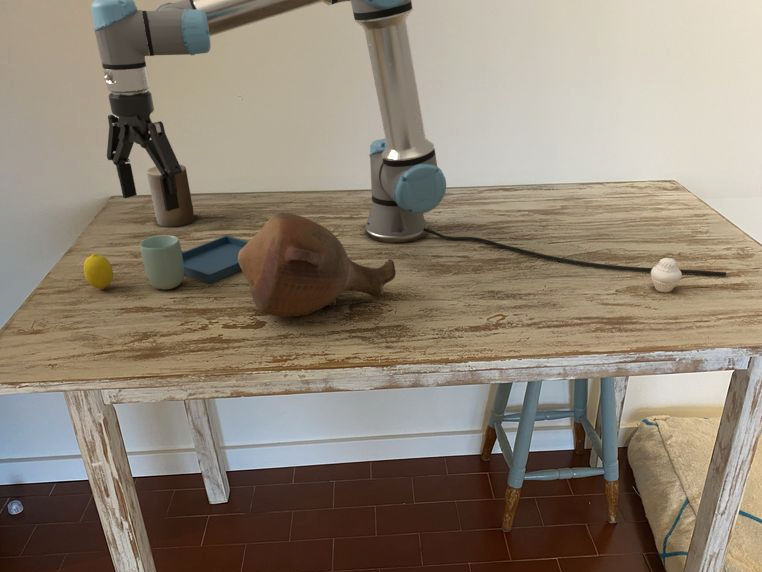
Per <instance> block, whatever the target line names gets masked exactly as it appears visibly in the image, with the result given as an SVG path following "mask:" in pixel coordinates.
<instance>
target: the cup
mask: <svg viewBox="0 0 762 572" xmlns="http://www.w3.org/2000/svg"><path fill="white" fill-rule="evenodd" d="M139 250H140V255H141V260H142V264H143V269H144V272H145V275H146V277H147V280H148V282H149V284H150V285H151V286H153V287H154V288H155V289H158V290H173V289H175V288H177V287H179V286H180V285H181V284H182V283H183V280H184V279H185V278H184V277H185V274H184V263H183V256H182V252H183V251H182V245H181V242H180V239H179V237H177V236H175V235H169V234H159V235H153V236H148V237H145V238H144V239H143V240H141V241H140V243H139Z"/></svg>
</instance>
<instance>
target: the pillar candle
mask: <svg viewBox="0 0 762 572" xmlns="http://www.w3.org/2000/svg"><path fill="white" fill-rule="evenodd" d="M179 165H180V167H181V169H182V173H180V174H177V175H175V180H176V186H177V197H178V203H179V208H177V209H173V210H170V211H165V205H164V200H163V194H162V189H161V183H160V178H159V177H160V176H161V173H160V172H159V170H158V168H157V167H156V165H155V166H152V167H150V168H148V169H147V170H146V175H147V180H148V185H149V191H150V195H151V201H152V205H153V209H154V215H155V219H156V224H158V225H159V226H161V227H168V228H169V227H170V228H171V227H172V228H173V227H181V226H186V225H188V224H192V223H193V222H194V221H195V220H196V217H195V213H194V206H193V201H192V195H191V189H190V184H189V177H188V172H187V168H186V166H185V165H183V164H179ZM165 170H166V169H165Z"/></svg>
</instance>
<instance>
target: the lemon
mask: <svg viewBox="0 0 762 572" xmlns="http://www.w3.org/2000/svg"><path fill="white" fill-rule="evenodd" d="M83 275H84V279H85V280H86V282H87V283H88V285H90V286H92V287H93V288H98V289H100V290H105V288H106V287H108V286H109V285H110V284H111V283H112V281H113V279H114V270H113V266H112V263H111V261H109V259H108V258H107V257H105V256H103V255H102V254H97V253H92V254H91V255H89V256H87V258H86V259H85V260H84V262H83Z"/></svg>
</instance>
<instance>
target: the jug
mask: <svg viewBox="0 0 762 572" xmlns="http://www.w3.org/2000/svg"><path fill="white" fill-rule="evenodd" d="M238 262H239V265H240V267H241V269H242V270H241V272H242V274H243V276H244V277H245V280H246V282H247V286H248V288H249V292H250V295H251V298H252V300H253V303H254V305H255V307H256V309H258V310H259V311H260V312H262V313H264V314H266V315H271V316H275V317H283V318H284V317H286V318H288V317H290V318H291V317H301V316H305V315H309V314H312V313H315V312H316V311H317V312H318V310H321V309H323V308H324V307H326V306H331V307H334V306H335V305H336V304H337V302H336V300H337V297H338V296H339V295H341V294H342V293H344V292H358V293H363V294H367V295H369V296H372V297H373V298H375V297H380V295H382V294H383V293H384V286H385V285H386V284H388V283H390V282H392V281H393V280H394V279H395V278H396V266H395V261H394V260H393V259H391V258H389V259H388V260H387V261H385V262H384V263H383V265H381V266H379V267H370V266H366V265H365V266H364V265H361V264H358V263H356V262H354V261H352V260H351V259H350V258H349V256H348V253H347V250H346V249H345V247H344V245H343V244H342V242H341V241H340V239H339V238H338V237H337V236H336V235H335V234H334V233H332V231H331V230H329V229H328V228H326V227H325V226H323V225H321V224H319V223H318V222H316V221H314V220H312V219H310V218H306V217H304V216H302V215H298V214H294V213H287V212H286V213H285V212H279V213H276V214H274V215H272V216H271V217H270V218H269V220H267V222H266V223H264V225H263V227H261V228H260V229H259V231H258V232H257V233H256V234H255V235H253V237H252V238H251V239H250V240H249V241H248V243H247V244H246V245H245V246H244V247H243V248H242V249H241V250H240V251H239V255H238Z"/></svg>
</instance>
